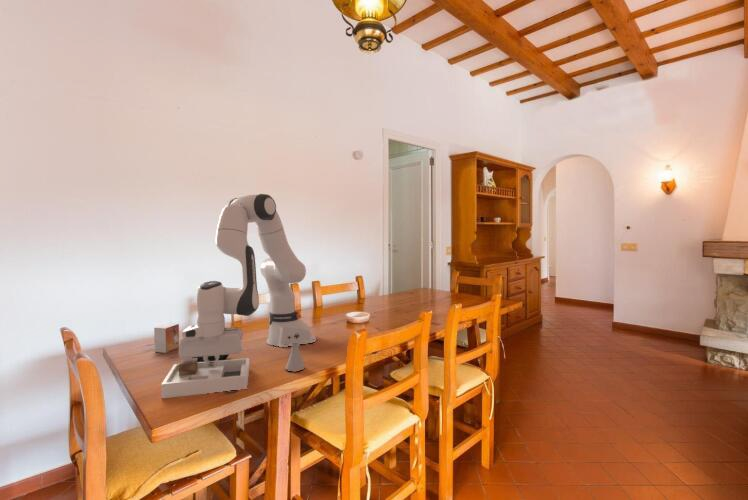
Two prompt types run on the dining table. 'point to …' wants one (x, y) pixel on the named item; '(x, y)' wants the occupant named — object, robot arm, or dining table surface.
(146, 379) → the dining table surface
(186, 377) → the track
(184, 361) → the walnut block
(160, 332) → the small box
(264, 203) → the robot arm
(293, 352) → the flask
